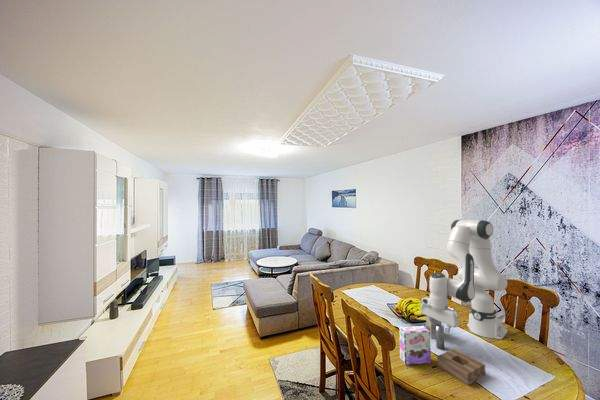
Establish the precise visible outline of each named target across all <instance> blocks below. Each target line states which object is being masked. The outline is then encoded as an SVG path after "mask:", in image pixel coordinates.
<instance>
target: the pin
mask: <svg viewBox="0 0 600 400" xmlns="http://www.w3.org/2000/svg"><path fill="white" fill-rule="evenodd" d="M435 342H436V343H435V344H436V345H435V347H436V349H438V350H441V351H444V350H445V349H446V347H445V326H444V325H442V324H441V325H439V324H437V325H436V339H435Z"/></svg>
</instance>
